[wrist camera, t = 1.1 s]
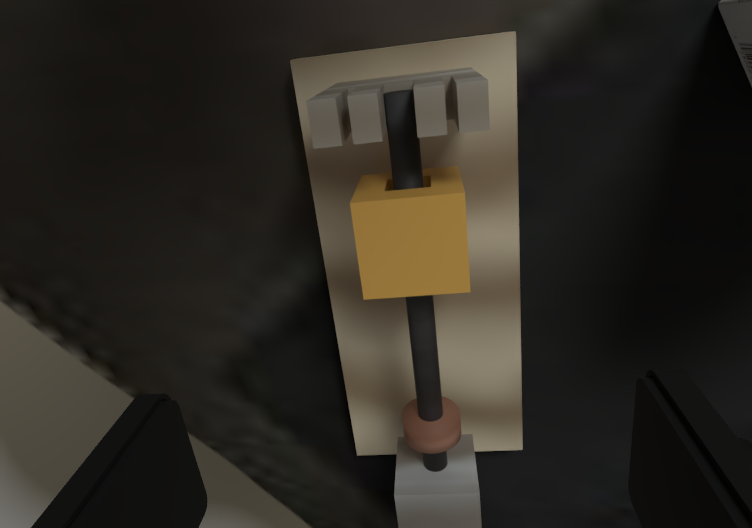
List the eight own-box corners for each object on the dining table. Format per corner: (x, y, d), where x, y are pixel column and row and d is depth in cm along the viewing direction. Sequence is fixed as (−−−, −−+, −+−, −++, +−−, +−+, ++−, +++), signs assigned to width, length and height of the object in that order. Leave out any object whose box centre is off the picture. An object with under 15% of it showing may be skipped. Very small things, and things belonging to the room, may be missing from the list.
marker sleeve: (361, 175, 24) (349, 203, 20) (458, 166, 23) (464, 192, 19) (372, 258, 25) (363, 299, 21) (463, 251, 25) (470, 292, 21)
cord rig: (297, 58, 25) (240, 70, 18) (510, 31, 24) (552, 31, 16) (359, 439, 34) (341, 560, 27) (518, 433, 33) (548, 558, 25)
